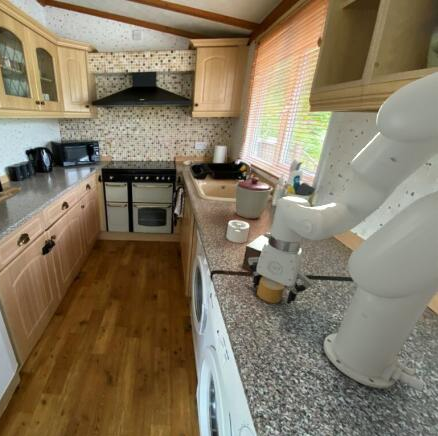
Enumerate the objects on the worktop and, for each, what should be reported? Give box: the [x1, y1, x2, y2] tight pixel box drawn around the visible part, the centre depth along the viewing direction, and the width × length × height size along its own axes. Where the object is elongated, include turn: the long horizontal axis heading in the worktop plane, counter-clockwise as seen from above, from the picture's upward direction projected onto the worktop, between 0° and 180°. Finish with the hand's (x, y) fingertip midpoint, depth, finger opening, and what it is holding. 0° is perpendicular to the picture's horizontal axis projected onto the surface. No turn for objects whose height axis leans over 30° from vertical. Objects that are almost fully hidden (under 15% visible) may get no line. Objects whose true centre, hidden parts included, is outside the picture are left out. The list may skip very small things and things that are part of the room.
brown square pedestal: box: [241, 234, 303, 277], centre depth 85 cm, size 14×12×9 cm
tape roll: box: [256, 276, 285, 304], centre depth 73 cm, size 7×7×5 cm
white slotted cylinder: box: [225, 219, 250, 244], centre depth 112 cm, size 20×9×7 cm, turn 157°
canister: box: [235, 176, 274, 220], centre depth 129 cm, size 18×18×21 cm
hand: (272, 293), depth 72 cm, fingers open, 9 cm apart
